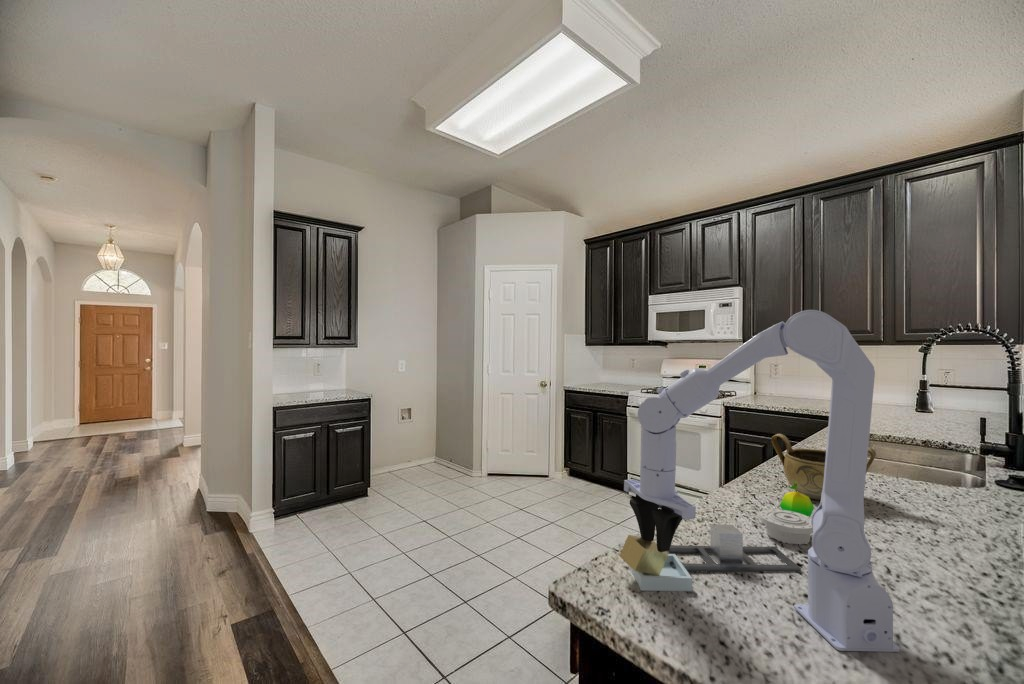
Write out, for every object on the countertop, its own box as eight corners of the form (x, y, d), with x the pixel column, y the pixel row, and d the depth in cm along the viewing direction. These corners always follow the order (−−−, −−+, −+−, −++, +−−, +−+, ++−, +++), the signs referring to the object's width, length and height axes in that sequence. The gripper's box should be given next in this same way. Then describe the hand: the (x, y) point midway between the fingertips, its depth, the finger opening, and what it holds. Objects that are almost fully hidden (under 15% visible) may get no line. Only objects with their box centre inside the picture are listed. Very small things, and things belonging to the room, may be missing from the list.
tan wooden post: (668, 553, 75) (644, 548, 72) (659, 575, 75) (634, 571, 72) (652, 540, 78) (628, 534, 76) (643, 560, 78) (619, 555, 76)
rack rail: (800, 573, 77) (800, 568, 77) (672, 571, 77) (672, 565, 77) (774, 552, 85) (774, 546, 85) (658, 550, 85) (658, 545, 85)
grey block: (742, 567, 79) (742, 533, 79) (719, 567, 79) (719, 533, 79) (732, 556, 83) (732, 524, 83) (710, 556, 83) (710, 524, 83)
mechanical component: (754, 517, 90) (766, 504, 98) (754, 538, 90) (766, 524, 98) (812, 531, 84) (821, 516, 91) (812, 554, 84) (821, 537, 91)
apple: (790, 513, 104) (790, 475, 104) (819, 523, 98) (819, 482, 98) (772, 519, 100) (772, 480, 100) (802, 530, 95) (802, 487, 95)
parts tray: (692, 591, 71) (692, 578, 71) (640, 590, 71) (640, 577, 71) (674, 565, 79) (674, 554, 79) (628, 565, 80) (628, 553, 80)
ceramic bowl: (761, 494, 117) (761, 437, 118) (783, 480, 129) (783, 429, 129) (868, 519, 101) (868, 453, 101) (882, 501, 112) (882, 442, 112)
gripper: (710, 476, 71) (707, 560, 71) (645, 453, 84) (643, 525, 84) (678, 481, 68) (675, 569, 68) (615, 457, 81) (613, 531, 81)
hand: (655, 545), depth 76 cm, fingers open, 3 cm apart
